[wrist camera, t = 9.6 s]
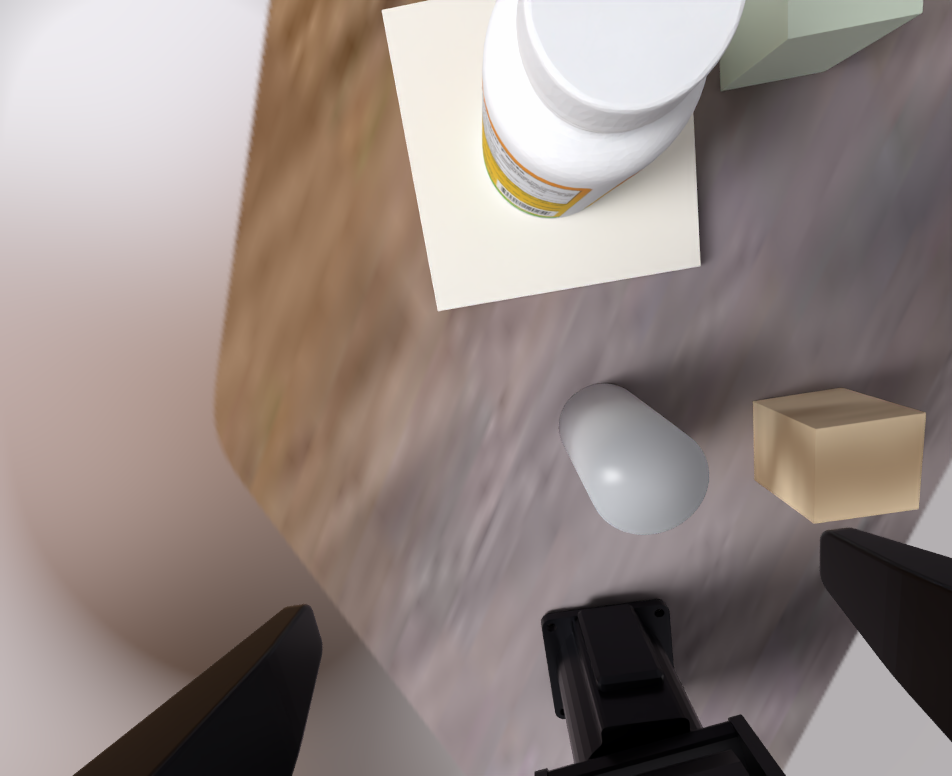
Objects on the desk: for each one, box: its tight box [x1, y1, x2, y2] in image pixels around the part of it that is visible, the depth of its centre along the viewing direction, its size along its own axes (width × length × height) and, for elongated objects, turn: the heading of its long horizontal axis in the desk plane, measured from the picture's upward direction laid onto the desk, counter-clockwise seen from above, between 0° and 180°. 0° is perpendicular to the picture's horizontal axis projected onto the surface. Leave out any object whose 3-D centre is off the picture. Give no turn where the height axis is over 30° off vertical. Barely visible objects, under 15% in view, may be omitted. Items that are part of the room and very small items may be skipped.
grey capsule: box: [559, 383, 709, 535], centre depth 18 cm, size 4×4×6 cm
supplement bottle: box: [482, 0, 746, 219], centre depth 12 cm, size 5×5×10 cm
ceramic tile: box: [382, 0, 700, 311], centre depth 18 cm, size 11×11×1 cm
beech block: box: [753, 388, 926, 524], centre depth 19 cm, size 4×4×4 cm
